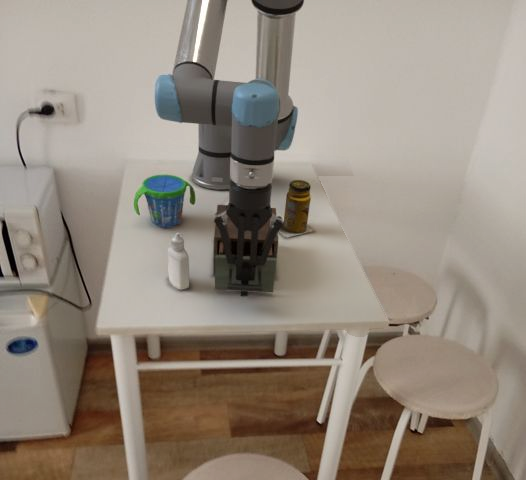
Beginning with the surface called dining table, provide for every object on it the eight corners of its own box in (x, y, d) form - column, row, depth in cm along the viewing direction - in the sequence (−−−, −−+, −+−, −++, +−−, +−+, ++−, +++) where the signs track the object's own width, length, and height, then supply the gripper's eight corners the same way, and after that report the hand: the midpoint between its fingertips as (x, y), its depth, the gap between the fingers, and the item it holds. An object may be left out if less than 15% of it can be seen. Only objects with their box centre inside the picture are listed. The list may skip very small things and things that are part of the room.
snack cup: (141, 235, 134) (138, 196, 128) (130, 216, 141) (126, 177, 135) (202, 226, 140) (202, 188, 133) (188, 208, 147) (188, 171, 141)
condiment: (313, 231, 142) (319, 186, 135) (286, 238, 138) (291, 192, 131) (296, 219, 147) (301, 175, 139) (270, 226, 143) (274, 181, 135)
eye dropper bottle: (168, 290, 117) (166, 239, 109) (168, 276, 121) (166, 226, 114) (189, 290, 118) (188, 240, 110) (189, 276, 122) (188, 226, 114)
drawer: (274, 311, 113) (277, 278, 108) (212, 308, 112) (213, 275, 107) (271, 257, 129) (274, 227, 124) (217, 254, 128) (218, 223, 123)
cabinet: (274, 279, 124) (278, 240, 118) (213, 275, 123) (214, 236, 117) (272, 244, 136) (275, 207, 129) (216, 241, 135) (217, 204, 129)
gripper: (212, 187, 95) (211, 301, 110) (288, 192, 96) (276, 304, 111) (215, 170, 101) (213, 280, 116) (286, 175, 101) (275, 284, 116)
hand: (244, 292), depth 113 cm, fingers closed
